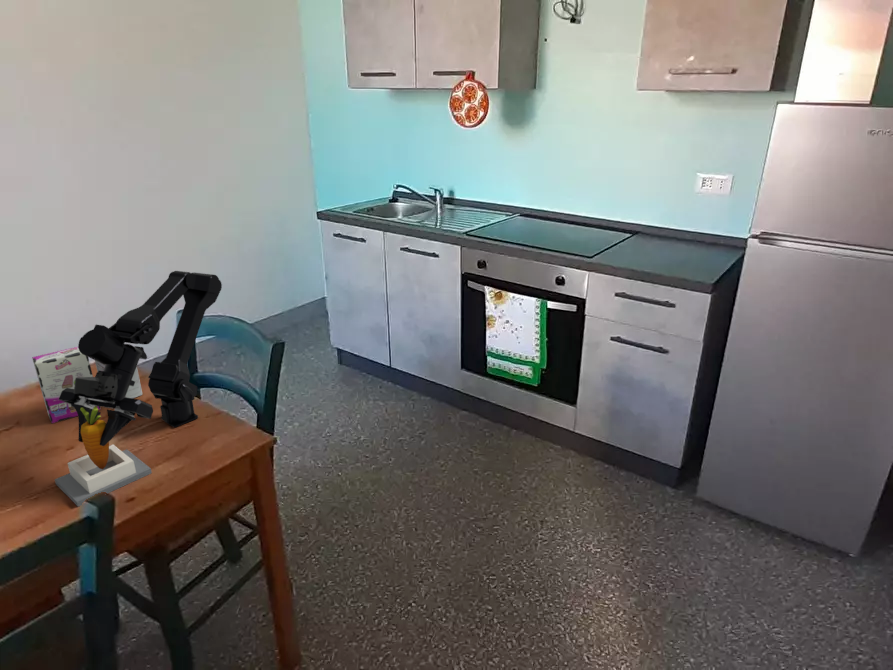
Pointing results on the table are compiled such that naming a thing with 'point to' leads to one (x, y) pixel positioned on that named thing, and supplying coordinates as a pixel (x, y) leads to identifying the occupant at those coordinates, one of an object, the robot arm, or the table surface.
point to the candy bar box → (60, 379)
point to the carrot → (94, 438)
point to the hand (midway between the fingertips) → (91, 443)
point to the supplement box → (132, 390)
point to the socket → (101, 475)
